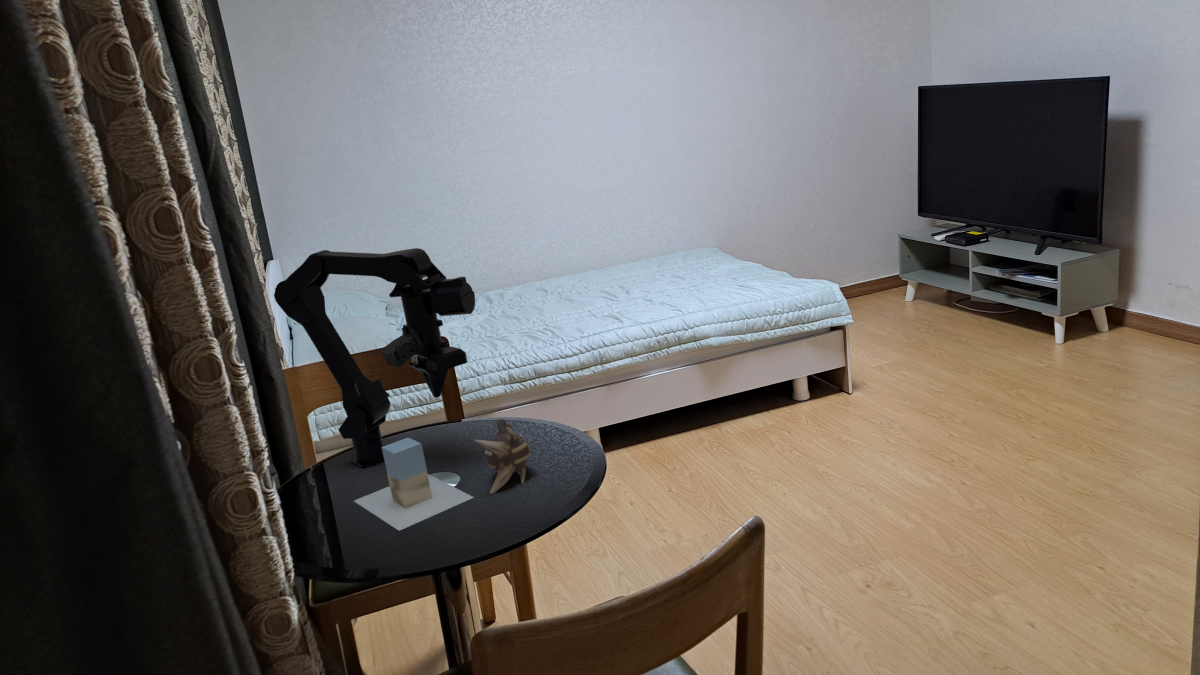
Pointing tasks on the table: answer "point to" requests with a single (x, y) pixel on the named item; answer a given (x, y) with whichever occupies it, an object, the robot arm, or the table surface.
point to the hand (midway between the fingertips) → (437, 396)
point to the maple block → (410, 489)
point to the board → (405, 517)
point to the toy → (506, 454)
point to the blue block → (404, 459)
